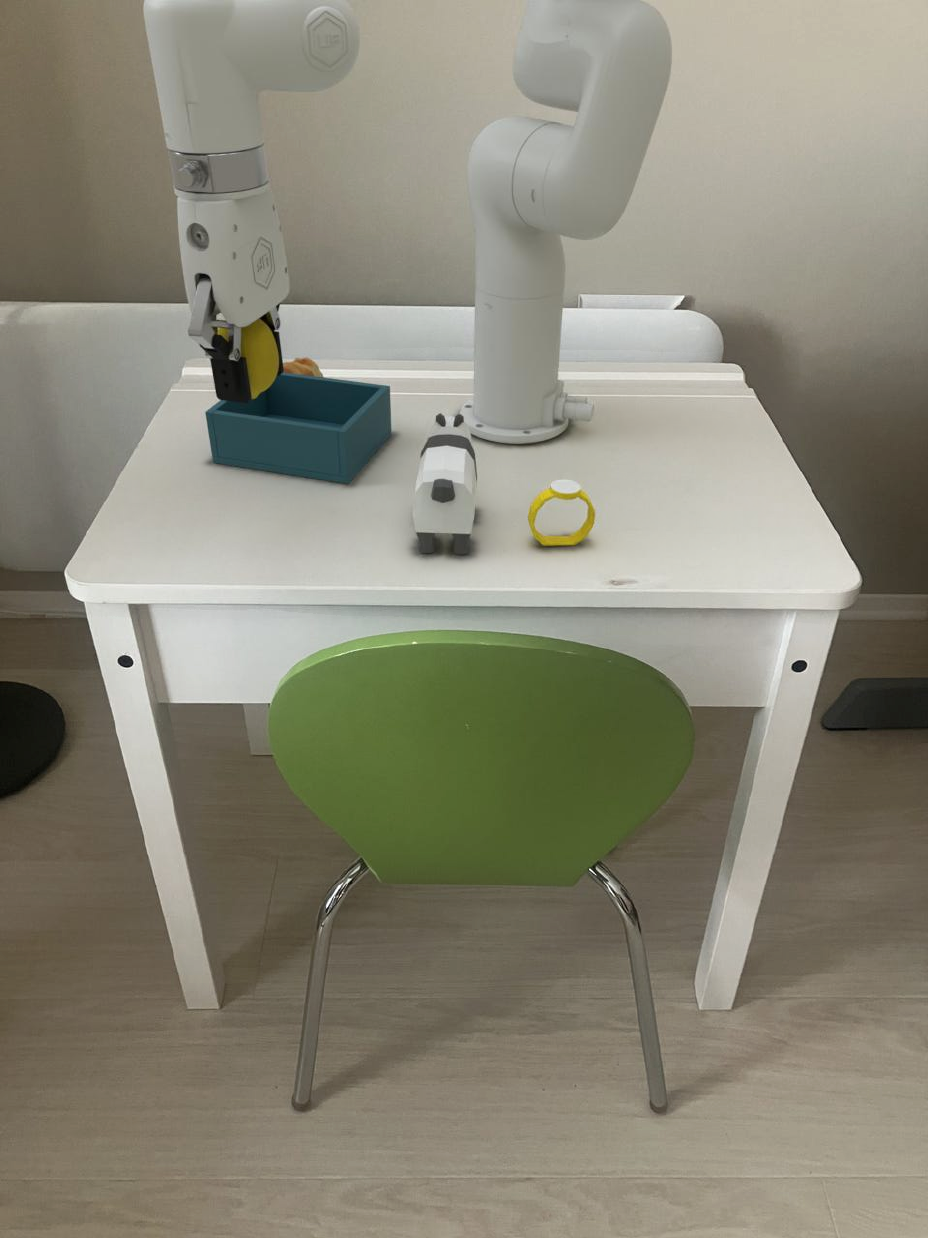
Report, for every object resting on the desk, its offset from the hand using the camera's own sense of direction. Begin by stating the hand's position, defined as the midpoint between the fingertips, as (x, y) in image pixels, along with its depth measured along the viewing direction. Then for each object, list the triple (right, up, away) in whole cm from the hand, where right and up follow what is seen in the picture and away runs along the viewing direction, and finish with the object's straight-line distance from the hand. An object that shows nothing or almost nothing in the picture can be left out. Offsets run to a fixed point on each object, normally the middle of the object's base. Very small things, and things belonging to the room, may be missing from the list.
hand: (251, 384), depth 87 cm
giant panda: (+18, -12, +6) cm, 22 cm away
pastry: (-2, +6, +31) cm, 32 cm away
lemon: (0, -1, +1) cm, 2 cm away
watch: (+28, -14, +3) cm, 32 cm away
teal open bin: (+2, -2, +19) cm, 19 cm away
